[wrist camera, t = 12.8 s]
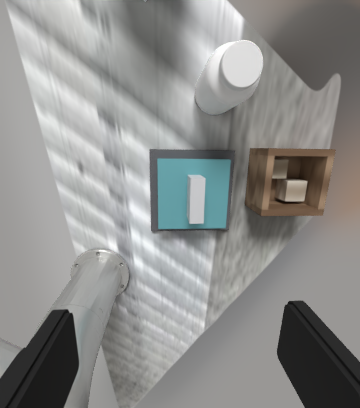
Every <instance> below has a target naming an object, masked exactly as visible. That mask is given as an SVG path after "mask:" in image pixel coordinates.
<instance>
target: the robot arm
mask: <svg viewBox="0 0 360 408" xmlns="http://www.w3.org/2000/svg"><path fill="white" fill-rule="evenodd" d="M128 280H129V268H128V265H127V264H126V262H125V260H124V259H123V258H122V257H121V256H120V255H119V254H117V253H115V252H113V251H111V250H107V249H92V250H89V251H86V252H84V253H83V254H81V255H80V256H79V257H78V258H77V259H76V261H75V262H74V264H73V266H72V269H71V280H70V282H69V283H68V284H67V286H66V287H65V289H64V290H63V292H62V293H61V294H60V296H59V297H58V298H57V300H56V301H55V303H54V304H53V306H52V307H51V308H50V310H49V311H48V313H47V314H46V315H45V317H44V318H43V320H42V321H41V323H40V324H39V326H38V328H37V330H36V332H35V334H34V337H33V338H32V340H31V341H30V343H29V344H28V345H27V347H26V348H21V347H18V346H16V345H14V344H12V343H10V342H7V341H5V340H3V339H1V338H0V408H88V402H89V394H90V387H91V380H92V374H93V370H94V366H95V362H96V358H97V355H98V351H99V348H100V345H101V342H102V339H103V335H104V332H105V329H106V326H107V323H108V320H109V317H110V314H111V311H112V307H113V304H114V301H115V298H116V296H118V295H119V294H120V293H122V292H123V290H124V289H125V288H126V286H127V284H128ZM277 355H278V359H279V361H280V363H281V364H282V366H283V368H284V370H285V372H286V374H287V376H288V377H289V379H290V381H291V383H292V385H293V387H294V389H295V390H296V392H297V394H298V396H299V398H300V400H301V401H302V403H303V405H304V407H305V408H360V362H359V361H358V359H357V358H356V357H355V356H354V355H353V354H352V353H351V352H350V351H349V350H348V349H347V348H346V346H344V344H343V343H342V342H341V341H340V340H339V339H338V338H337V337H336V336H335V334H334V333H333V332H332V331H331V330H330V329H329V328H328V327H327V326H326V325H325V324H324V323H323V322H322V320H321V319H320V318H319V317H318V316H317V315H316V314H315V313H314V312H313V311H312V309H311V308H310V307H309V306H308V305H307V304H306V303H305V302H303V301H289V302H288V304H287V305H285V307H284V313H283V319H282V325H281V331H280V336H279V343H278V348H277Z"/></svg>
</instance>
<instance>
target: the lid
mask: <svg viewBox="0 0 360 408" xmlns="http://www.w3.org/2000/svg"><path fill="white" fill-rule="evenodd" d="M230 163H231V160H229V159H161V158H158V159H157V164H158V229H202V228H226V218H227V204H228V190H229V177H230Z"/></svg>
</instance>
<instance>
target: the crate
mask: <svg viewBox="0 0 360 408" xmlns="http://www.w3.org/2000/svg"><path fill="white" fill-rule="evenodd" d="M334 155H335V150H333V149H276V148H250V156H249V167H248V177H247V188H246V198H245V205H246V206H247V207H249V208H250V209H252V210H253V211H255V212H256V213H257V214H259V215H260V216H316V215H317V216H318V215H323V212H324V207H325V201H326V197H327V191H328V186H329V181H330V176H331V170H332V166H333V161H334Z"/></svg>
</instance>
